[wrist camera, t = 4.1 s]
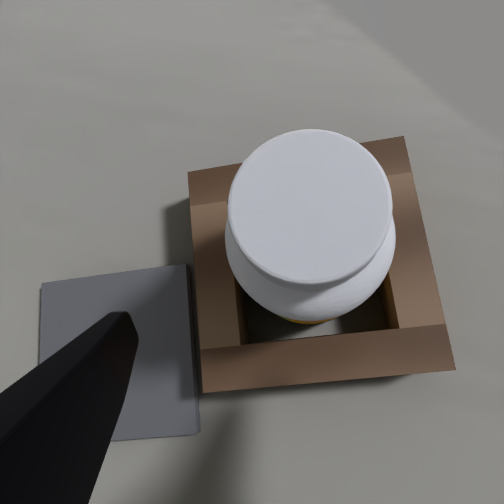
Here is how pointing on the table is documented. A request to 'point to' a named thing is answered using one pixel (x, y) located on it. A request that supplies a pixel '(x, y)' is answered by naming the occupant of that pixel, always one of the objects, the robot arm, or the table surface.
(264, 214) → the supplement bottle
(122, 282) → the rubber mat
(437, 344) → the walnut collar
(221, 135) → the table surface
